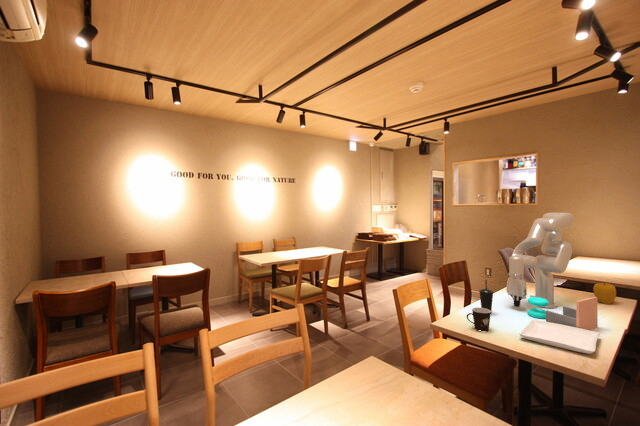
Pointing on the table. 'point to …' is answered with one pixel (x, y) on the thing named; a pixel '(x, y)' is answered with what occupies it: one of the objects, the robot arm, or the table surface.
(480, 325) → the coffee mug
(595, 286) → the apple
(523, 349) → the table surface
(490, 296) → the drinking cup
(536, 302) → the donuts
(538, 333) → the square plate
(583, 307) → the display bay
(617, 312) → the table surface
